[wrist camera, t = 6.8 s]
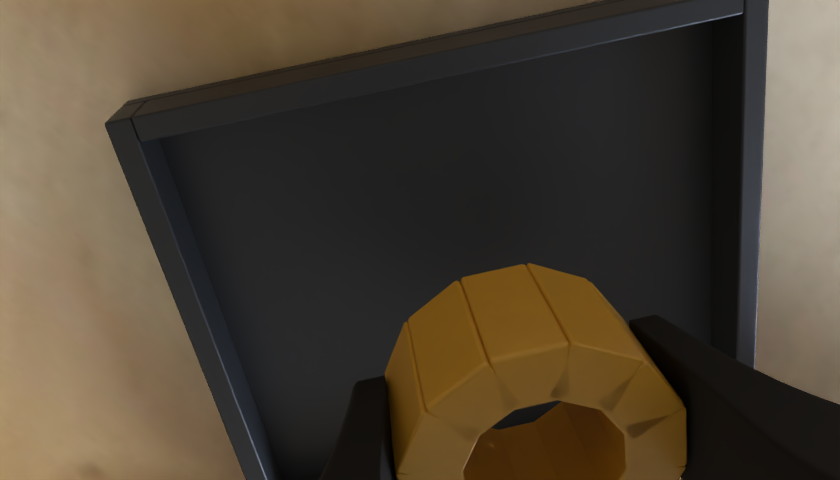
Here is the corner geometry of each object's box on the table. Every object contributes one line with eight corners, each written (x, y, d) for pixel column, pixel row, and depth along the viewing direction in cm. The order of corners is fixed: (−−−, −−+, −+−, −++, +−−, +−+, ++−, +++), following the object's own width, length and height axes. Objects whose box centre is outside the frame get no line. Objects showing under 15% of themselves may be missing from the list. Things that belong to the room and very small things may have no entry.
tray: (725, -26, 18) (770, -19, 16) (720, 388, 23) (753, 428, 22) (126, 100, 17) (102, 123, 15) (273, 490, 23) (268, 539, 21)
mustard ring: (619, 240, 14) (686, 316, 12) (631, 437, 17) (689, 538, 14) (363, 297, 14) (372, 387, 12) (412, 488, 17) (428, 599, 14)
